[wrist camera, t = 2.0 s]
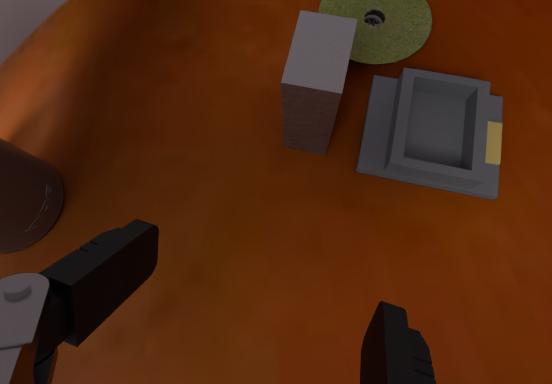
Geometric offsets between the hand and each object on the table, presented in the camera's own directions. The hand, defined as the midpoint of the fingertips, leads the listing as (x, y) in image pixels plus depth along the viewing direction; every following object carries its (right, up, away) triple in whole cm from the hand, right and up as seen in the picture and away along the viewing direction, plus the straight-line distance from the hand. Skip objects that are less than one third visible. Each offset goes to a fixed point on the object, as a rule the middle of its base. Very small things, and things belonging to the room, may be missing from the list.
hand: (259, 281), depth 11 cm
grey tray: (+15, +8, +19) cm, 26 cm away
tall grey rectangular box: (+4, +10, +20) cm, 23 cm away
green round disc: (+11, +20, +23) cm, 32 cm away
